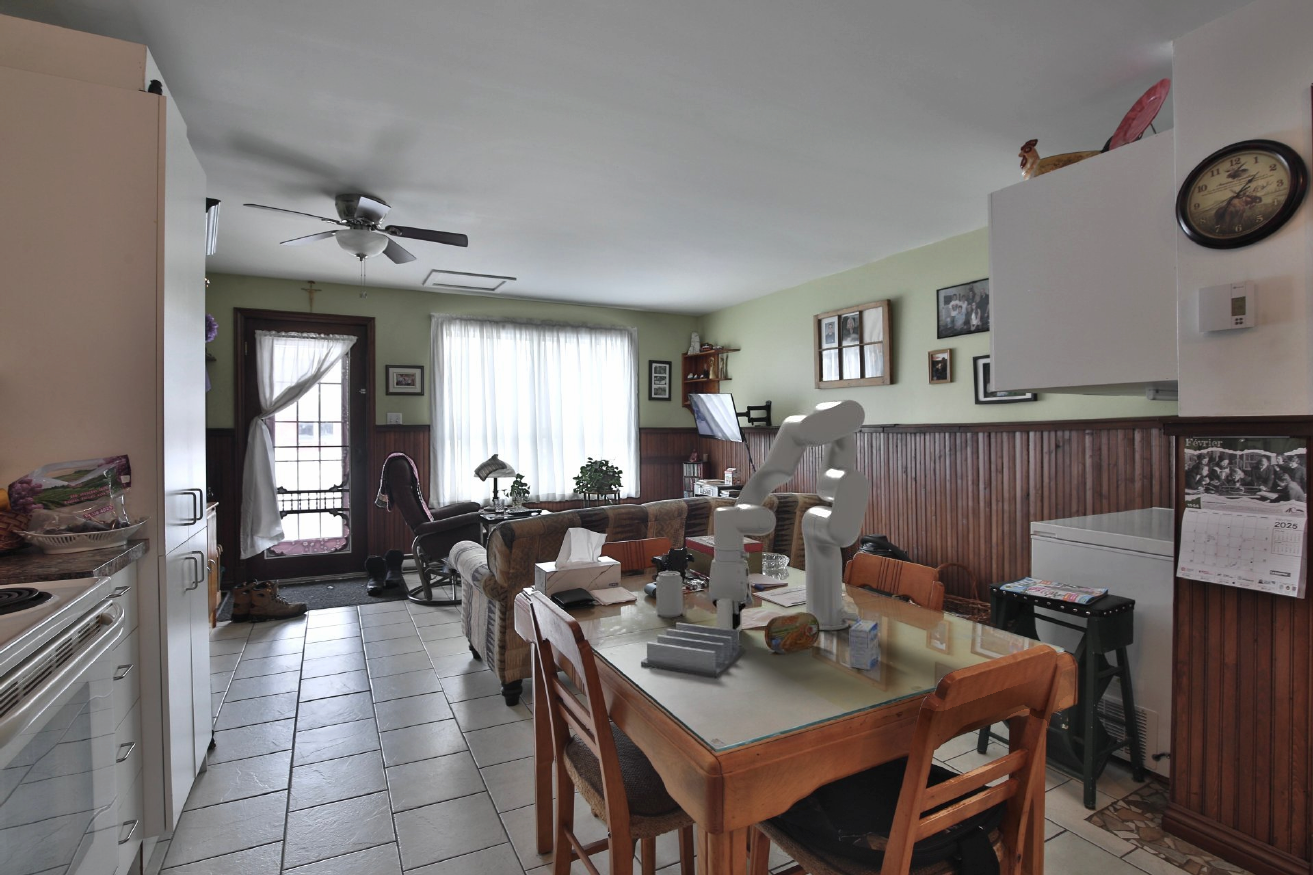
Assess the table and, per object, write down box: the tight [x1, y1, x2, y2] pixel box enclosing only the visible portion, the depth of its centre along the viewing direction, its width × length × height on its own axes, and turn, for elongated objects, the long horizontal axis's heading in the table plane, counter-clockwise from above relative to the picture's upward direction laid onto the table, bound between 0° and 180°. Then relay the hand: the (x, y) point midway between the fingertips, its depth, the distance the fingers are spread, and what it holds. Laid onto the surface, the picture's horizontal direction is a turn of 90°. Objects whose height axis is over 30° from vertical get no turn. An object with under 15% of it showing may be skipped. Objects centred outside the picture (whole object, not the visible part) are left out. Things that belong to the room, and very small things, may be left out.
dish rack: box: [640, 621, 746, 680], centre depth 150 cm, size 18×19×5 cm
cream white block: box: [716, 598, 743, 633], centre depth 166 cm, size 2×12×10 cm, turn 154°
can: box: [655, 570, 684, 619], centre depth 186 cm, size 8×8×12 cm
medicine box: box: [848, 619, 879, 671], centre depth 145 cm, size 8×4×9 cm, turn 148°
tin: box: [764, 611, 821, 655], centre depth 155 cm, size 15×3×8 cm, turn 117°
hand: (729, 626), depth 166 cm, fingers closed on cream white block, 2 cm apart
